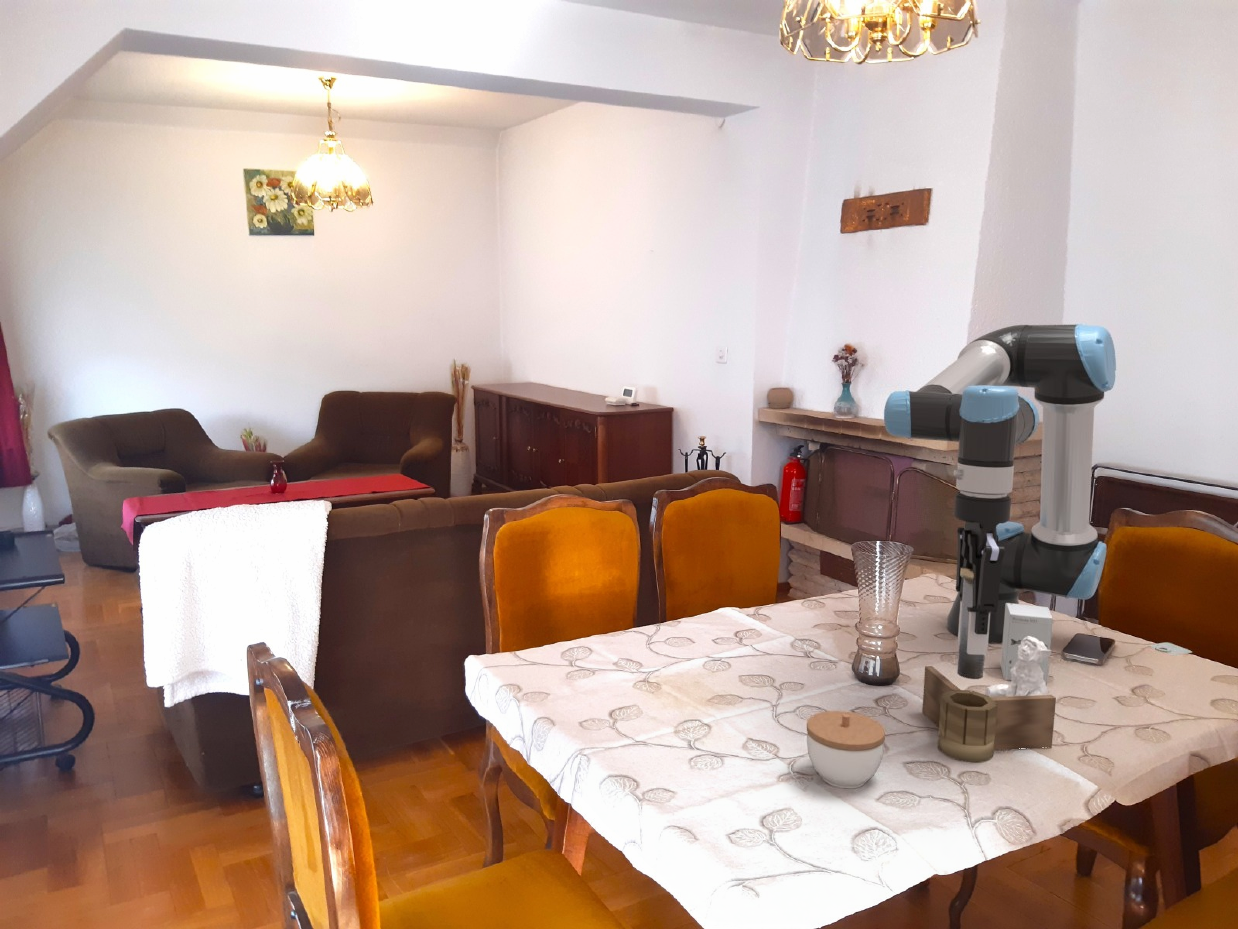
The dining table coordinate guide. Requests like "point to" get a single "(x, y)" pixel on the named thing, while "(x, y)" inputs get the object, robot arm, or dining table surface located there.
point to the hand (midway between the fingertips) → (972, 648)
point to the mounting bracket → (1170, 648)
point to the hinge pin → (967, 663)
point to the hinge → (985, 719)
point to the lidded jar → (845, 747)
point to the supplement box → (1024, 634)
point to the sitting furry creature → (1025, 672)
